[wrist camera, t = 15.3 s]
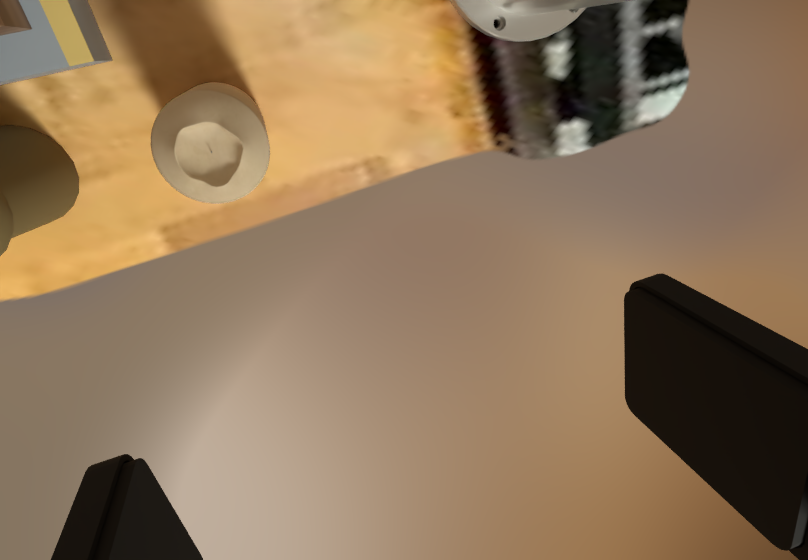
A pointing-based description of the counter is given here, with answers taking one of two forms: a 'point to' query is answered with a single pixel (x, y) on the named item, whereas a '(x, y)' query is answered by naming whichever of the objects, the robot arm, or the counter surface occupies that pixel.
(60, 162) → the olive pepper mill
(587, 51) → the counter surface
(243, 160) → the candle
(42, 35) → the block
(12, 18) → the brown wooden bar
